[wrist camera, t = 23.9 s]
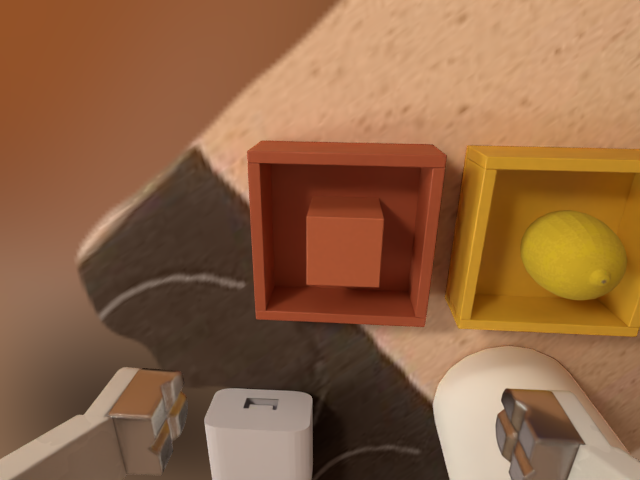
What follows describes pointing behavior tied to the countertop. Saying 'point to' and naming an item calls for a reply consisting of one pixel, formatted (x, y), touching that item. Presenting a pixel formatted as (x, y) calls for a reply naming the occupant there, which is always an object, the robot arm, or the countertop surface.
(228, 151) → the countertop surface
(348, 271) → the block
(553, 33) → the countertop surface
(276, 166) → the terracotta bin
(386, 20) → the countertop surface
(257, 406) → the charger
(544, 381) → the can
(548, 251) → the lemon
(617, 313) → the yellow bin
